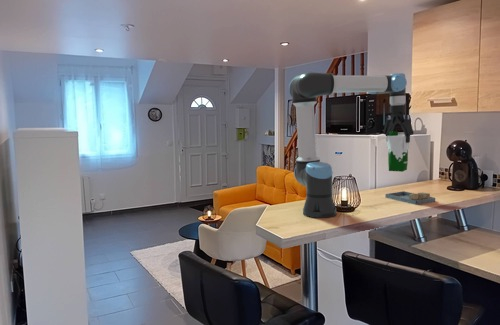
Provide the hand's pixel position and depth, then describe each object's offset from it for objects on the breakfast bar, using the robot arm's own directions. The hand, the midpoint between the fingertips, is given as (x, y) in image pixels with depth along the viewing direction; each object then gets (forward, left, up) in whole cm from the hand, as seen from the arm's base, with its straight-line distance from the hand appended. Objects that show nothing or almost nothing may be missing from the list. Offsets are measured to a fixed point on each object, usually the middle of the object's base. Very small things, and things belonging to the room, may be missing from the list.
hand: (397, 148), depth 194 cm
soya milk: (0, 0, -11) cm, 11 cm away
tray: (+4, -4, -27) cm, 28 cm away
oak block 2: (+7, -11, -26) cm, 29 cm away
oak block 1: (+1, -10, -26) cm, 28 cm away
